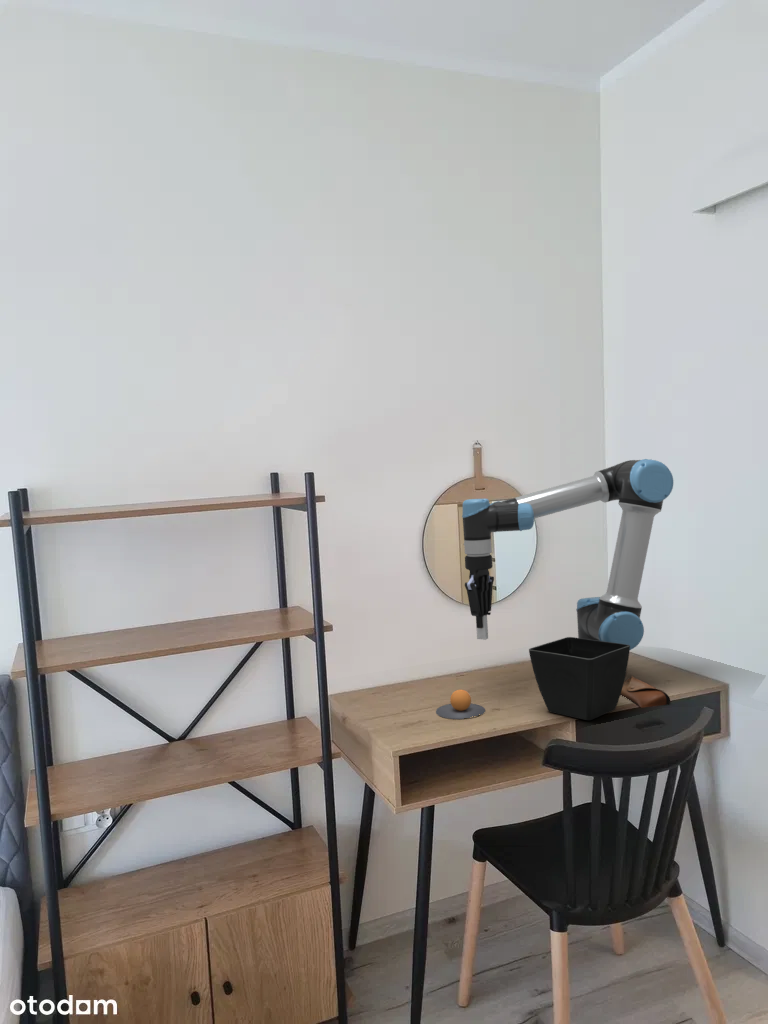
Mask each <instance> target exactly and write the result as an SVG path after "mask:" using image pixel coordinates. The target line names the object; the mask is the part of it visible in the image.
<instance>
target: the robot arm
mask: <svg viewBox="0 0 768 1024" xmlns="http://www.w3.org/2000/svg"><path fill="white" fill-rule="evenodd" d="M673 489H674V477H673V473H672V472H671V470H670V469H669V467H668V466H667V465H666V464H665V463H663V462H662V461H658V460H656V459H652V458H651V459H647V458H645V459H632V460H630V459H629V460H625V461H622V462H619V463H617V464H614V465H612V466H610V467H606V468H604V469H601V470H597V471H595V472H594V473H593V475H592V476H588V477H584V478H581V479H577V480H574V481H570V482H566V483H563V484H558V485H556V486H551V487H549V488H545V489H542V490H538V491H535V492H532V493H531V492H530V493H528V494H523V495H520V496H516V497H513V498H510V499H506V500H503V501H501V500H500V501H495V502H492V503H490V500H489V498H469V499H465V500H464V501H463V502H462V516H461V518H462V526H463V527H462V528H463V529H462V530H463V542H464V543H463V546H464V547H463V548H464V554H465V556H464V567H465V568H464V569H466V570H468V571H469V575H468V576H469V577H468V578H469V580H468V582H464V587H465V590H466V593H467V598H468V599H467V600H468V604H469V610H470V615H471V616H473V617H475V624H476V639H477V640H483V641H484V640H485V641H486V640H488V639H489V629H488V627H489V626H488V616H490V615H491V613H492V612H491V611H492V606H493V605H492V604H493V603H492V602H493V601H492V600H493V589H494V588H493V587H494V586H493V585H494V581H495V576H490V571H489V570H490V569H492V568H493V555H492V554H491V553H492V552H493V548H492V533H498V532H499V533H500V532H517V531H520V532H522V531H527V530H531V529H533V527H534V524H535V519H538V518H542V517H544V516H549V515H552V514H555V513H556V514H557V513H559V512H563V511H566V510H570V509H574V508H578V507H581V506H584V505H588V504H592V503H595V502H600V501H601V502H603V503H608V502H612V501H618V506H620V508H621V510H622V513H621V518H620V523H619V526H618V527H619V528H618V531H617V538H616V543H615V548H614V552H613V558H612V562H611V568H610V572H609V573H610V574H609V578H608V583H607V587H606V588H607V589H606V592H605V593H604V594H603V595H602V596H593V597H585V598H584V597H583V598H582V597H581V598H579V599H578V600H577V602H576V616H577V617H576V619H577V634H578V635H577V638H583V639H590V640H598V641H605V642H613V643H620V644H627V645H630V651H632V650H633V649H634V648H637V646H638V645H639V644H640V643H641V642H642V640H643V638H644V632H645V626H644V624H643V622H642V620H641V614H642V610H643V609H642V608H643V606H642V605H641V603H640V602H639V593H640V587H641V584H642V580H643V579H642V578H643V574H644V573H643V572H644V569H645V563H646V559H647V553H648V548H649V544H650V538H651V533H652V528H653V524H654V519H655V516H656V515H658V514H659V513H660V512H662V510H663V509H662V508H663V503H664V500H666V499H667V498H668V497H669V496H670V494H671V493H672V491H673Z"/></svg>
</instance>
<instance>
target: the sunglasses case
mask: <svg viewBox="0 0 768 1024" xmlns="http://www.w3.org/2000/svg"><path fill="white" fill-rule="evenodd" d="M621 695H622V696H621ZM620 696H621V697H623V696H624V697H626V698H627V699H626V698H625V699H626V700H628V699H629V700H628V701H630V700H631V701H630V702H632V703H633V704H635V705H636V706H638V708H642V709H643V708H651V707H658V706H666V705H669V706H670V704H671V698H670V696H669V695H668V693H667V692H665V691H664V690H661V689H659V688H657V687H655V686H653V685H651V684H648V683H647V682H644V681H642V680H640V679H639V678H636V677H634V675H630V677H629V678H627V679H625V680H624V684H623V687H622V691H621V694H620ZM624 697H623V698H624Z"/></svg>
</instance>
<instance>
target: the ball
mask: <svg viewBox="0 0 768 1024" xmlns="http://www.w3.org/2000/svg"><path fill="white" fill-rule="evenodd" d="M449 702H450V704H451V705H452V707H453V708H454V709H456V710H458V711H464V710H466V709H467V708H468V707H469V706H470V704H471V703H472V697H471V695H470V693H469V692H468V691H466V690H465V689H457V690H455V691H453V692H452V694H451V695H450V701H449Z"/></svg>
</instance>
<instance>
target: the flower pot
mask: <svg viewBox="0 0 768 1024" xmlns="http://www.w3.org/2000/svg"><path fill="white" fill-rule="evenodd" d="M630 651H631V650H630V645H627V644H620V643H613V642H605V641H598V640H590V639H583V638H578V637H575V636H574V637H572V636H566V637H564V638H559V639H557V640H553V641H549V642H547V643H546V642H545V643H544V644H540V645H537V646H534V647H530V648H528V653H529V659H530V663H531V666H532V671H533V673H534V678H535V680H536V683H537V684H536V685H537V687H538V689H539V692H540V694H541V697H542V699H543V700H542V701H543V702H544V705H545V707H546V708H547V711H548V712H549V713H554V714H557V715H561V716H562V715H563V716H566V717H571V718H576V719H580V720H585V721H592V720H594V719H596V718H599V717H602V716H603V715H605V714H608V713H611V712H613V711H614V710H616V708H617V705H618V704H619V699H620V697H621V695H620V694H621V691H622V687H623V684H624V681H626V675H627V671H628V670H627V669H628V663H629V656H630Z"/></svg>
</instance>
